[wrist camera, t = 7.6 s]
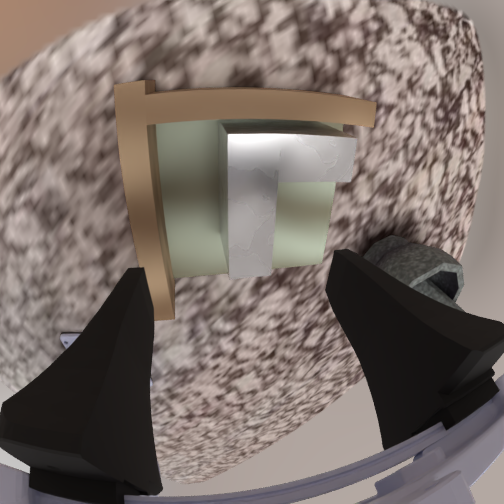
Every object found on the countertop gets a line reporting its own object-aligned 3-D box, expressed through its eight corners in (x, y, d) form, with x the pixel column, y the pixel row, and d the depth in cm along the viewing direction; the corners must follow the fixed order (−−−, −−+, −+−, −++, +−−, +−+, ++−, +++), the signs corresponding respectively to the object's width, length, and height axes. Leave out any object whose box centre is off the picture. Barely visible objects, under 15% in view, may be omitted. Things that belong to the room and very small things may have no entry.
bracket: (217, 119, 16) (227, 134, 12) (318, 121, 17) (357, 138, 13) (219, 234, 20) (229, 279, 16) (306, 228, 21) (333, 268, 17)
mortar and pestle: (325, 297, 27) (380, 404, 17) (367, 210, 22) (464, 310, 12) (402, 299, 30) (457, 377, 21) (442, 231, 26) (517, 305, 16)
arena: (318, 268, 25) (337, 299, 21) (156, 283, 22) (153, 320, 19) (344, 84, 16) (377, 90, 13) (130, 83, 14) (113, 84, 10)
